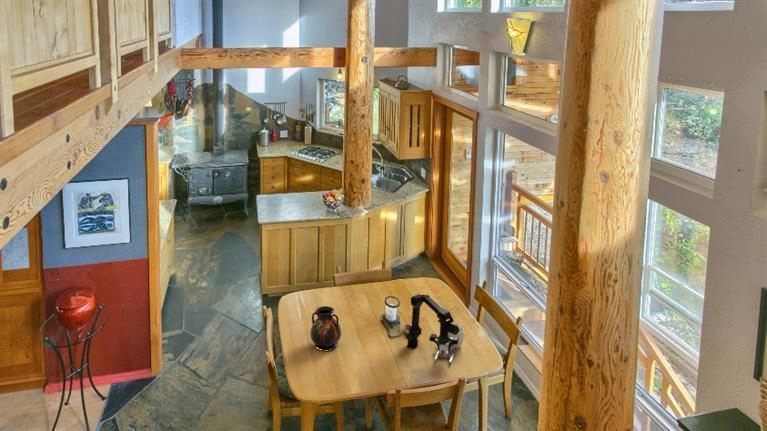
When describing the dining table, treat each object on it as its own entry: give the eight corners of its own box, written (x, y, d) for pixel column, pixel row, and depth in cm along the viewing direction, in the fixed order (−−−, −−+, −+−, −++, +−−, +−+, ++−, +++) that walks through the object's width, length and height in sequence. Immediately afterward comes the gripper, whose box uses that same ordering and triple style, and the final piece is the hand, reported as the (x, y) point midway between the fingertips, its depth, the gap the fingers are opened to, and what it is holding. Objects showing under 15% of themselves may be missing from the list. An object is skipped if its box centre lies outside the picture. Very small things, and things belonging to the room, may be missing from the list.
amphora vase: (306, 352, 445) (304, 315, 437) (316, 337, 465) (315, 301, 457) (336, 355, 441) (334, 318, 432) (345, 340, 460) (344, 304, 452)
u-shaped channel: (430, 362, 431) (430, 351, 428) (435, 350, 446) (436, 339, 444) (450, 365, 427) (451, 354, 425) (455, 352, 443) (455, 342, 440)
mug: (441, 349, 447) (441, 332, 443) (442, 341, 458) (442, 324, 454) (463, 350, 445) (463, 333, 441) (463, 342, 456) (464, 325, 452)
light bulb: (437, 355, 426) (438, 346, 424) (440, 349, 434) (440, 340, 432) (446, 357, 425) (447, 347, 422) (449, 350, 432) (449, 341, 430)
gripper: (427, 333, 420) (427, 354, 425) (456, 336, 415) (455, 358, 420) (431, 325, 430) (431, 346, 435) (459, 328, 425) (458, 350, 430)
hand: (443, 350), depth 430 cm, fingers closed on light bulb, 6 cm apart
